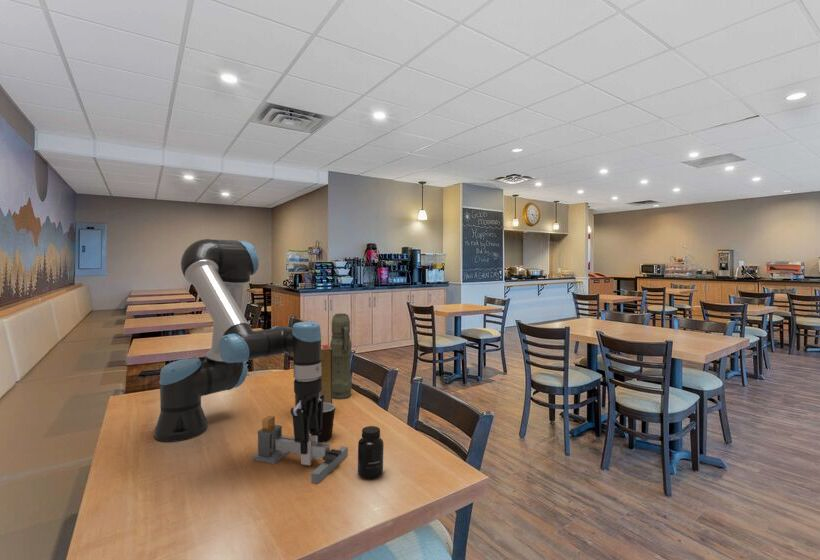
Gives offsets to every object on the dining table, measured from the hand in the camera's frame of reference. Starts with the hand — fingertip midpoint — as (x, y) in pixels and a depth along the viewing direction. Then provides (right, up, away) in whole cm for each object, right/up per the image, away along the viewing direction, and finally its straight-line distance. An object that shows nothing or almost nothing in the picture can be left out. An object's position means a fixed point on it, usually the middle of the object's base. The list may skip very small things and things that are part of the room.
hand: (309, 461), depth 110 cm
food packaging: (-8, 0, +38) cm, 39 cm away
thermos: (-1, +1, +58) cm, 58 cm away
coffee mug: (0, 0, +18) cm, 18 cm away
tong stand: (-4, -1, +1) cm, 4 cm away
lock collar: (-13, +1, +4) cm, 13 cm away
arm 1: (-1, +2, -1) cm, 3 cm away
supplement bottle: (+18, -1, -5) cm, 18 cm away
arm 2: (0, +2, +1) cm, 3 cm away
